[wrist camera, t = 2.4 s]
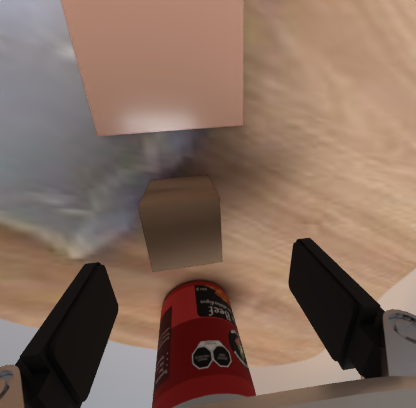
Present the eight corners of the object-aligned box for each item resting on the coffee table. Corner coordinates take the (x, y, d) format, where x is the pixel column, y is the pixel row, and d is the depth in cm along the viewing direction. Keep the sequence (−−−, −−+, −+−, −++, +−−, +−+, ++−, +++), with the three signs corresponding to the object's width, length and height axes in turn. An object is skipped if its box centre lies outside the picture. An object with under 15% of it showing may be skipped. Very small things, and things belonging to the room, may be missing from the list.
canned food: (238, 306, 25) (278, 431, 15) (184, 335, 26) (188, 472, 16) (208, 267, 22) (234, 390, 12) (148, 300, 23) (124, 444, 13)
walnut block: (210, 223, 20) (222, 261, 14) (159, 229, 19) (152, 272, 14) (207, 174, 18) (219, 197, 12) (150, 179, 17) (138, 207, 12)
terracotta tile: (239, 124, 17) (243, 125, 16) (102, 135, 15) (97, 136, 15) (238, -146, 11) (244, -170, 10) (25, -159, 10) (9, -187, 9)
